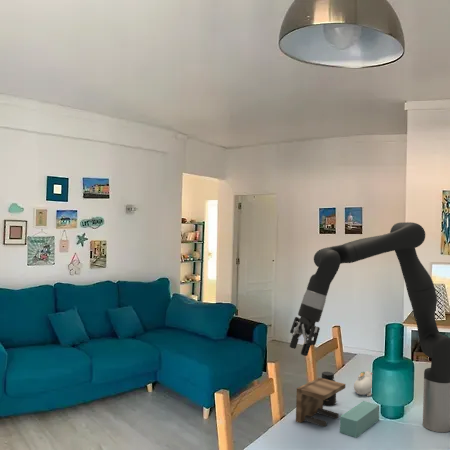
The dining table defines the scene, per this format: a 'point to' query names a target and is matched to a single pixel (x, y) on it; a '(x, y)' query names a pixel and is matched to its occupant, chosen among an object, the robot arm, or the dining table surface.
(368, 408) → the pale green long block
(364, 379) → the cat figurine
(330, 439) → the dining table surface
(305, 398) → the wall shelf
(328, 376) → the supplement bottle
